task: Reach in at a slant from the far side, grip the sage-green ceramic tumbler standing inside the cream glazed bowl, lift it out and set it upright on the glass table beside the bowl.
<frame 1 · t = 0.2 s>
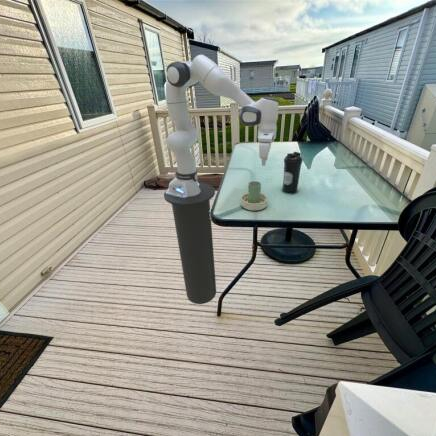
hand: (264, 162, 125), 23 cm above the table, tool pointing down, fingers open, 8 cm apart
bowl: (254, 205, 134), on the table
tumbler: (254, 203, 134), point 1 cm above the table, touching bowl
water bottle: (289, 190, 149), on the table
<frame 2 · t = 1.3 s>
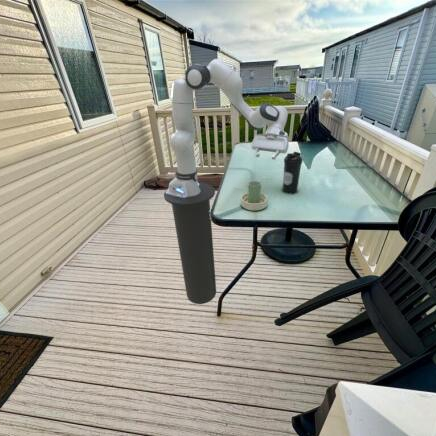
hand: (265, 157, 131), 23 cm above the table, tool tilted 45°, fingers open, 8 cm apart
nothing on the table moved.
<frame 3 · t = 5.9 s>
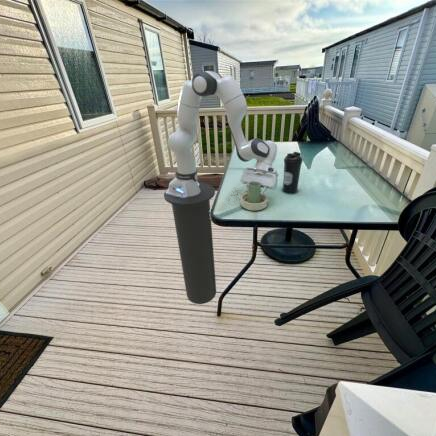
hand: (253, 193, 130), 7 cm above the table, tool tilted 45°, fingers closed on tumbler, 6 cm apart
tumbler: (254, 203, 134), point 1 cm above the table, touching bowl, gripper
everything else where it was.
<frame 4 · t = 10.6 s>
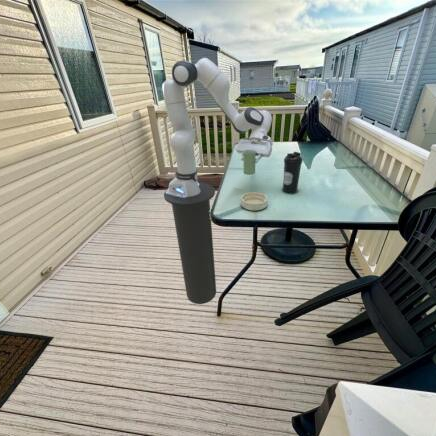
hand: (249, 161, 133), 21 cm above the table, tool tilted 45°, fingers closed on tumbler, 6 cm apart
tumbler: (249, 172, 137), point 14 cm above the table, touching gripper
everything else where it was.
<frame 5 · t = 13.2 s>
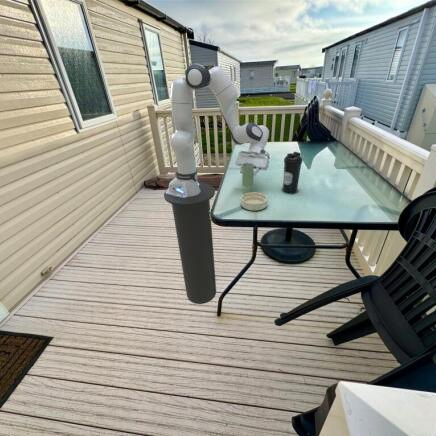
hand: (247, 174, 141), 12 cm above the table, tool tilted 45°, fingers closed on tumbler, 6 cm apart
tumbler: (247, 184, 145), point 6 cm above the table, touching gripper
everything else where it was.
when the fingers open (6 cm above the table, at t = 15.4 s): tumbler stays where it is, on the table.
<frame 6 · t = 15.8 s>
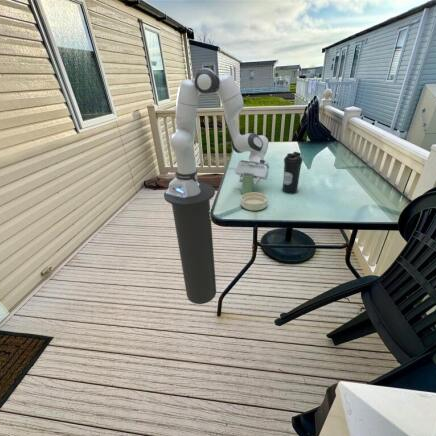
hand: (247, 183, 144), 7 cm above the table, tool tilted 45°, fingers open, 8 cm apart
tumbler: (247, 193, 147), on the table
everything else where it was.
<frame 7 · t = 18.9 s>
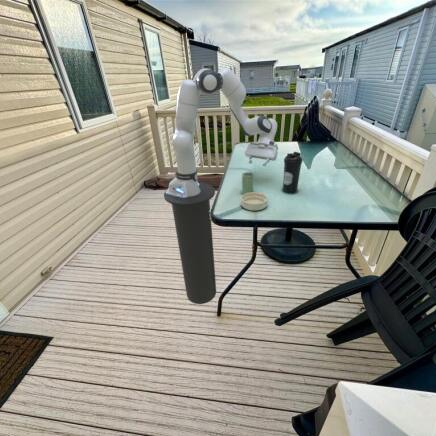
hand: (256, 164, 149), 14 cm above the table, tool tilted 45°, fingers open, 8 cm apart
nothing on the table moved.
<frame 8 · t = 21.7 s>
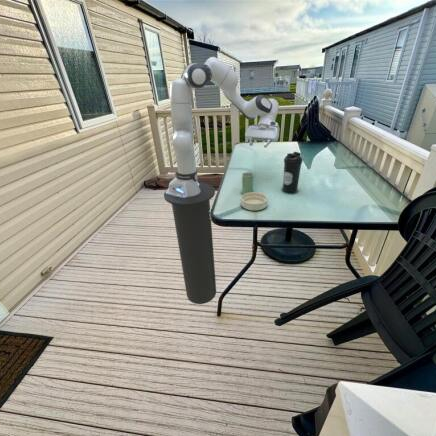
hand: (257, 146, 143), 25 cm above the table, tool tilted 45°, fingers open, 8 cm apart
nothing on the table moved.
at the end: tumbler inside the target area (0.0 cm from its centre), on the table; tumbler touching table; tumbler tilted 0° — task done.
